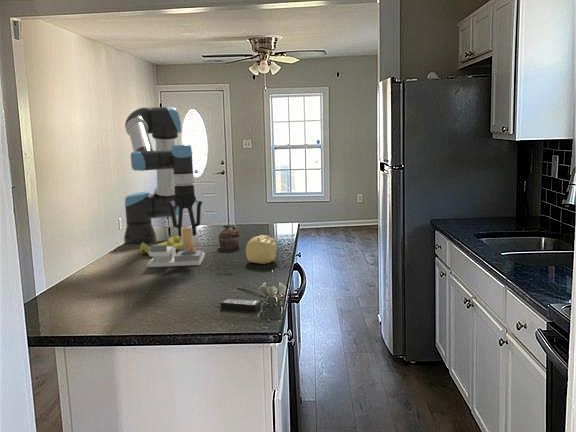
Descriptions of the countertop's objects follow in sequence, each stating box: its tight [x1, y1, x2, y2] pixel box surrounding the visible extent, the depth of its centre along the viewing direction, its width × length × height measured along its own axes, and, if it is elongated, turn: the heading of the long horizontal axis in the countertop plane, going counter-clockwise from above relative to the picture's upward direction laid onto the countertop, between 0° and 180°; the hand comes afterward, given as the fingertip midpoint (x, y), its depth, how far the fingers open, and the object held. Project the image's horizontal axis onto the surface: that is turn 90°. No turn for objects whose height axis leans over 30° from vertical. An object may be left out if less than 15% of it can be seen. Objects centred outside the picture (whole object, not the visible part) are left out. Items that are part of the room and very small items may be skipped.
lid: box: [148, 244, 173, 257], centre depth 217 cm, size 10×7×4 cm
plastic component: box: [138, 233, 184, 258], centre depth 241 cm, size 20×7×10 cm
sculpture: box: [245, 234, 278, 265], centre depth 215 cm, size 12×12×11 cm
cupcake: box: [217, 224, 241, 250], centre depth 246 cm, size 10×10×10 cm
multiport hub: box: [219, 298, 262, 313], centre depth 159 cm, size 4×11×2 cm, turn 70°
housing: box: [147, 235, 206, 268], centre depth 222 cm, size 16×20×10 cm
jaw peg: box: [182, 226, 193, 250], centre depth 219 cm, size 4×4×8 cm
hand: (188, 244), depth 220 cm, fingers closed on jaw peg, 3 cm apart
